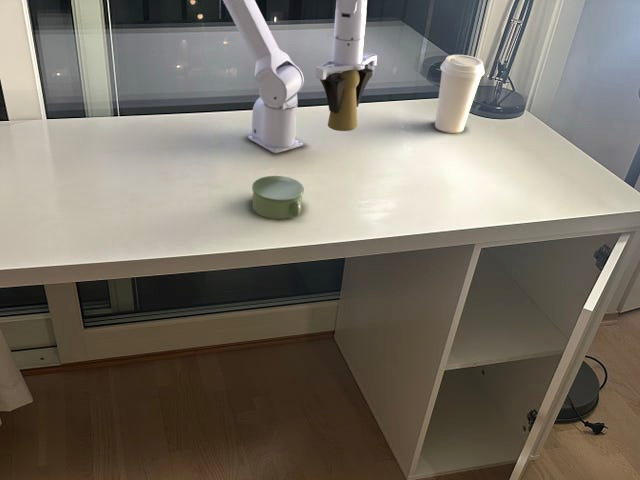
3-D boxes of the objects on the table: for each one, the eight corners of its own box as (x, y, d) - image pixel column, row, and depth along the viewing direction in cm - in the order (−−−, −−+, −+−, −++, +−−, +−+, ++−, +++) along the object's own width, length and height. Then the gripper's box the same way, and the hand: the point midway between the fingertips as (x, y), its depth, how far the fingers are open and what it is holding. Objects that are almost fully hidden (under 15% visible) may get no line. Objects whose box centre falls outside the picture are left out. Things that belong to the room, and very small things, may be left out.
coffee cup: (423, 119, 166) (436, 53, 157) (462, 119, 167) (477, 53, 158) (435, 135, 159) (450, 67, 149) (475, 135, 160) (493, 67, 150)
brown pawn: (356, 132, 140) (361, 75, 134) (326, 130, 141) (329, 73, 134) (358, 121, 145) (363, 65, 138) (329, 119, 146) (332, 64, 139)
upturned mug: (241, 203, 131) (241, 183, 128) (280, 190, 135) (281, 171, 133) (276, 227, 125) (278, 207, 122) (316, 213, 129) (318, 193, 127)
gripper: (335, 48, 127) (330, 122, 135) (391, 34, 134) (383, 106, 142) (309, 39, 131) (306, 112, 139) (364, 26, 138) (358, 97, 146)
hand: (343, 108), depth 141 cm, fingers closed on brown pawn, 5 cm apart
